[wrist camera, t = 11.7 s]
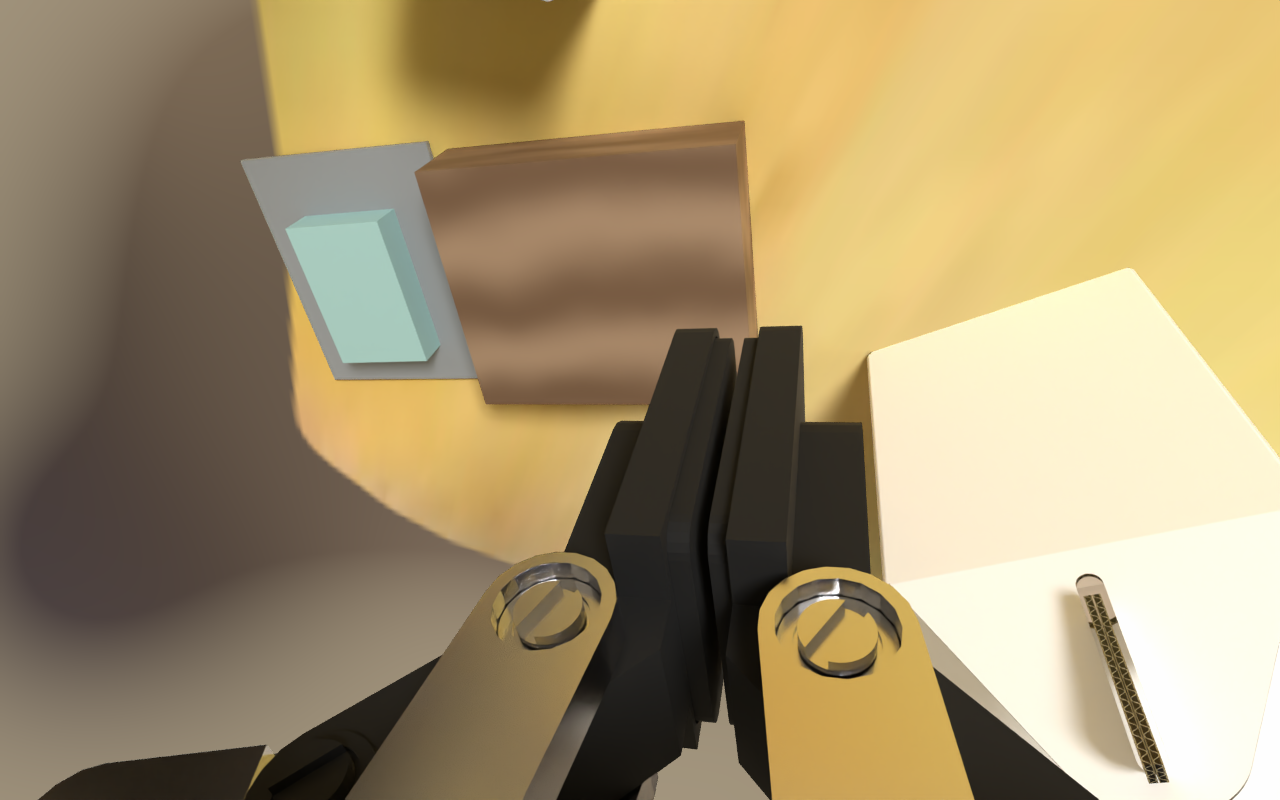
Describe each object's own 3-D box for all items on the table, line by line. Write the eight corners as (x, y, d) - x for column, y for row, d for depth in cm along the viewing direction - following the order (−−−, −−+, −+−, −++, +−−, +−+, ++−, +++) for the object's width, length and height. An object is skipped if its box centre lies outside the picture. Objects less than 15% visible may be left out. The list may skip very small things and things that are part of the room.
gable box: (863, 348, 42) (899, 893, 19) (1130, 259, 36) (1623, 886, 14) (977, 607, 51) (1092, 1178, 29) (1204, 569, 45) (1570, 1245, 23)
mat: (243, 159, 43) (240, 160, 43) (428, 141, 40) (425, 142, 40) (337, 377, 51) (335, 379, 51) (496, 375, 48) (495, 378, 48)
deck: (447, 148, 40) (414, 172, 37) (744, 120, 36) (735, 144, 33) (509, 368, 48) (485, 404, 44) (759, 366, 44) (754, 404, 40)
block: (376, 221, 41) (393, 208, 42) (285, 228, 42) (305, 216, 44) (426, 360, 46) (440, 344, 47) (342, 363, 47) (359, 347, 49)
